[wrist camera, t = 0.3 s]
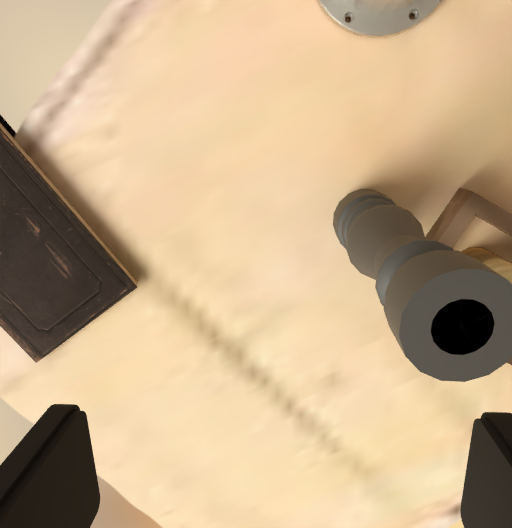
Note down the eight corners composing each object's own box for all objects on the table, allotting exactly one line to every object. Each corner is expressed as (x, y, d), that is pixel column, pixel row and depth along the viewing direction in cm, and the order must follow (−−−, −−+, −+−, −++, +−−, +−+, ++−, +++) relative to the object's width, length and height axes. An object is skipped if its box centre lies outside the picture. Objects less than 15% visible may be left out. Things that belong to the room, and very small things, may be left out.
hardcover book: (-8, 104, 43) (-24, 103, 41) (143, 280, 47) (136, 287, 45) (-105, 199, 46) (-125, 203, 44) (44, 354, 51) (33, 365, 49)
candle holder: (320, 226, 44) (365, 340, 20) (358, 176, 42) (458, 234, 18) (368, 260, 45) (466, 409, 21) (407, 212, 43) (564, 314, 19)
